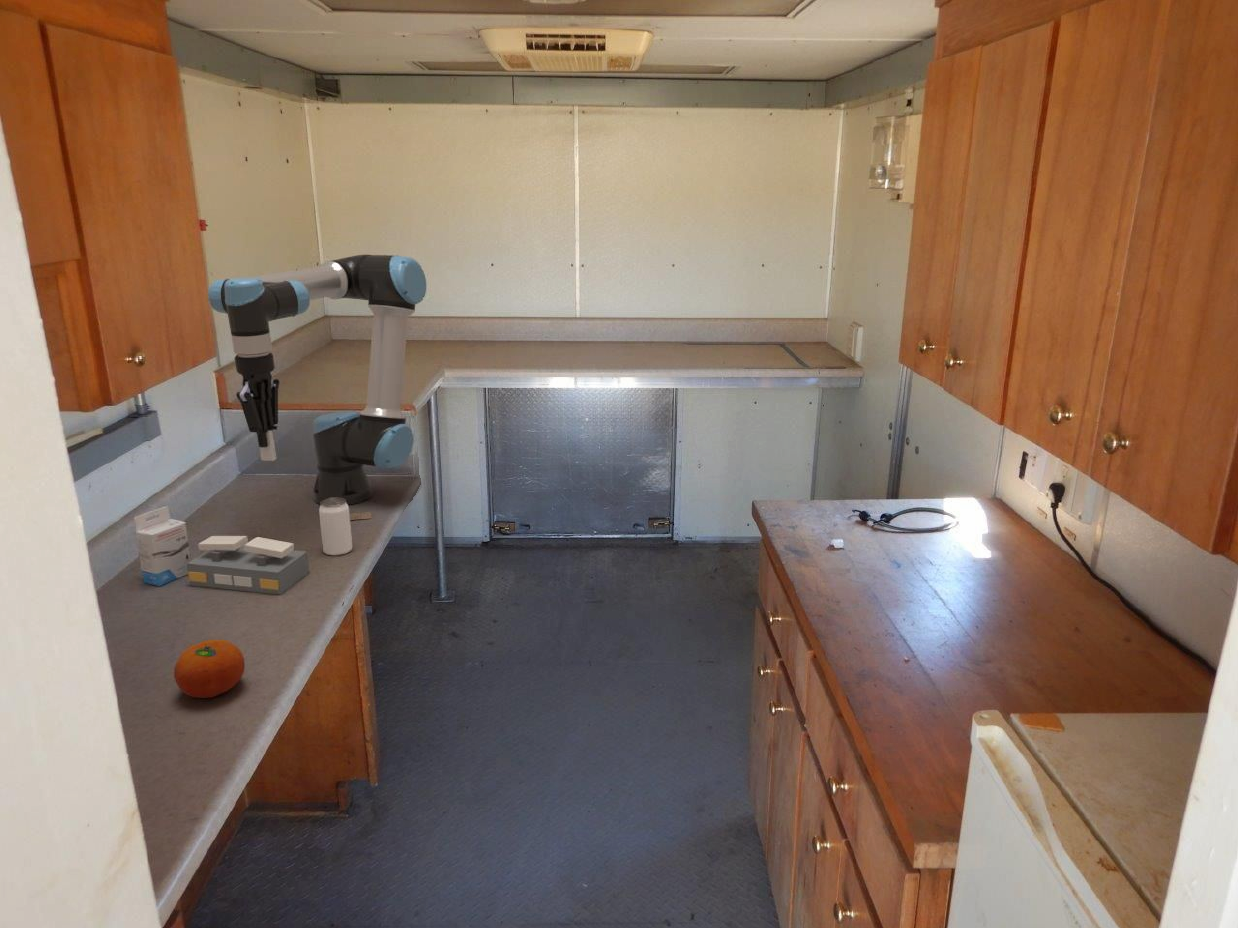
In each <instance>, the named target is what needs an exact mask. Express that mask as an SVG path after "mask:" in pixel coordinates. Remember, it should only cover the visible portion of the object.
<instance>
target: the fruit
mask: <svg viewBox="0 0 1238 928" xmlns="http://www.w3.org/2000/svg"><path fill="white" fill-rule="evenodd" d="M245 667H246V666H245V658H244V655H243V653H242V650H241V649H240V648H239V647H238V646H236V645H235V644H234V643H232V642H230V641H229V640H225V639H219V638H218V639H209V640H208V639H207V640H204V641H201V642H198V643H196V644H193V645H191V646H189V647H188V648H186V649H185V650H183V652H182V653H180V655H179V657H178V659H177V661H176V664H175V667H174V671H173V676H174V679H175V682H176V685H177V686H178V688H179V690H180V691H182V692H183V693H184V694H185V695H187V696H189V697H192V698H201V699H202V698H203V699H205V698H206V699H209V698H214V697H217V696H218V695H221V694H223V693H226V692H228V691H229V690H230V689H232V688H233V687H234V686H235V685H236V684H237V683H238V682H239V681H240V679H241V678H242V677H243V674H244V672H245Z"/></svg>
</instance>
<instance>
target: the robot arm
mask: <svg viewBox="0 0 1238 928" xmlns="http://www.w3.org/2000/svg"><path fill="white" fill-rule="evenodd" d="M426 293H427V278H426V274H425V271H424V270H423V269H422V265H420V263H419V262H418V261H417V260H416V259H414V258H412V257H409V256H404V255H397V254H395V255H389V254H388V255H386V254H385V255H383V254H358V255H357V254H356V255H352V256H348V257H342V258H339V259H333V260H327V261H325V262H322V263H321V264H320V265H319V266H317V267H316V266H314V267H309V268H303V269H302V268H301V269H296V270H290V271H283V272H278V273H271V274H270V273H269V274H264V275H258V276H251V277H239V278H238V277H237V278H231V279H230V278H226V279H216V280H215V281H213V282H212V283H211V284H210V286H209V287H208V292H207V296H209V299H208V302H209V301H210V303H209V305H210V306H211V308H212V309H213V310H214V311H216V312H218V313H220V314H227V317H228V322H229V323H228V324H229V328H230V334H231V341H232V348H233V353H234V355H235V356H234V363H235V368H236V373H237V374H239V375H241V377H242V383H241V384H242V390H241V391H237V392H236V394H235V395H236V397H237V399H238V401H239V402H240V405H241V408H242V412H243V415H244V418H245V420H246V424H247V428H248V431H249V433H256V435H257V443H258V447H259V452H260V460H261V461H266V462H269V461H270V462H274V461H275V460H277V453H276V446H275V438H274V431H273V430H278V424H279V386H280V379H278V378H273V376H272V372H273V371H274V370H275V360H274V354H273V353H272V352H271V351H272V350H273V344H272V340H271V339H272V338H271V333H270V332H271V331H270V325H269V322H273V321H277V320H281V319H285V318H287V319H288V318H290V317H292V318H294V317H297V316H299V315H301V314H304V313H306V311H307V310H308V309H309V307H310V304H311V303H310V302H311V301H315V300H318V299H323V298H329V299H330V300H340V299H349V300H350V299H352V300H362V301H368V302H367V303H368V304H367V306H368V308H369V310H370V311H371V312H372V313H373V319H372V328H371V329H372V331H371V345H370V357H369V369H368V379H367V381H368V382H367V394H366V406H365V408H364V409H363V410H361V411H360V412H358V411H356V410H339V411H334V412H330V413H325V414H322V415H320V416H318V417H316V418H315V419H314V421H313V433H312V434H313V441H314V448H315V449H314V450H315V457H316V465H317V467H316V468H317V474H316V478H315V482H314V487H313V491H312V494H313V500H314V502H315V503H317V504H319V505H321V504H320V503H321V501H323V500H325V499H329V498H343V499H345V500H346V503H347V505H348V506H349V505H355V504H358V503H362V502H364V501H367V500H369V499H370V498H371V497H372V495H373V490H372V485H371V483H370V480H369V478H368V475H367V473H366V471H365V469H364V465H366V466H371V467H378V468H379V469H383V468H388V469H394V468H399V467H400V466H402V465H403V464H404V463H405V462H406V460H408V458H409V457H410V455H411V453H412V450H413V447H414V441H415V440H414V439H415V438H414V434H413V430H412V428H411V427H410V426H408V424H406V420H407V417H406V415H405V414H404V413H403V412H402V410H401V407H402V406H401V405H402V396H403V384H404V383H403V382H404V372H405V360H406V346H407V334H408V323H409V322H408V321H409V318H410V316H412V315H413V314H414V313H415V312H416V305H418V304H420V303H421V302H422V301H423V300H424V298H425V297H426Z"/></svg>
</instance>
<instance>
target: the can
mask: <svg viewBox="0 0 1238 928" xmlns="http://www.w3.org/2000/svg"><path fill="white" fill-rule="evenodd" d="M319 505H320V507H319V513H318V514H319V523H320V533H321V541H322V551H323V552H324V554H326V555H327V556H333V557H334V556H343V555H346V554H348V553H350V552H351V551H352V550H353V539H352V527H351V517H350V516H351V515H350V507H349V505H347V503H346V500H345V499H343V498H329V499H325V500H323V501H321V503H320V504H319Z"/></svg>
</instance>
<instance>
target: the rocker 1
mask: <svg viewBox="0 0 1238 928" xmlns="http://www.w3.org/2000/svg"><path fill="white" fill-rule="evenodd" d="M248 542H249V539H248V536H247V535H211V536H209V537H208V538H206V539H204V540H203V541H201V542H199V543H198V545H197V546H198V549H199V551H208V550H214V552H220V553H221V555H222V554H224V553H226V552H227V551H229V550H236V549H238V548H240V547H241V546H244V545H245V544H247V543H248Z"/></svg>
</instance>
